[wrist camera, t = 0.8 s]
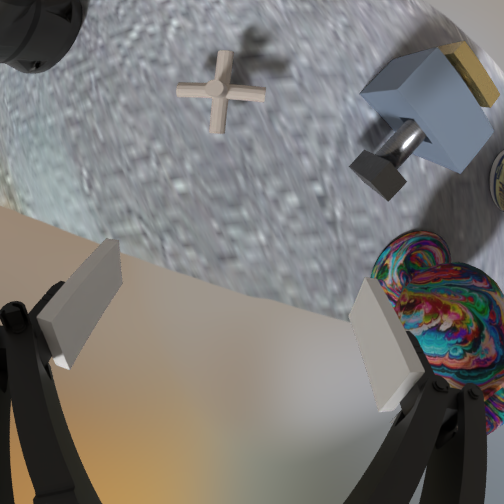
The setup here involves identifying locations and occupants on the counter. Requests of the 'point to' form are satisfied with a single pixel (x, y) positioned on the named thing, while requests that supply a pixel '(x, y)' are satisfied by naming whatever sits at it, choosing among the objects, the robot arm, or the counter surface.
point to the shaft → (390, 159)
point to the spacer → (471, 72)
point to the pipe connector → (221, 91)
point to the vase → (448, 314)
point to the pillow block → (431, 107)
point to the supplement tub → (498, 181)
